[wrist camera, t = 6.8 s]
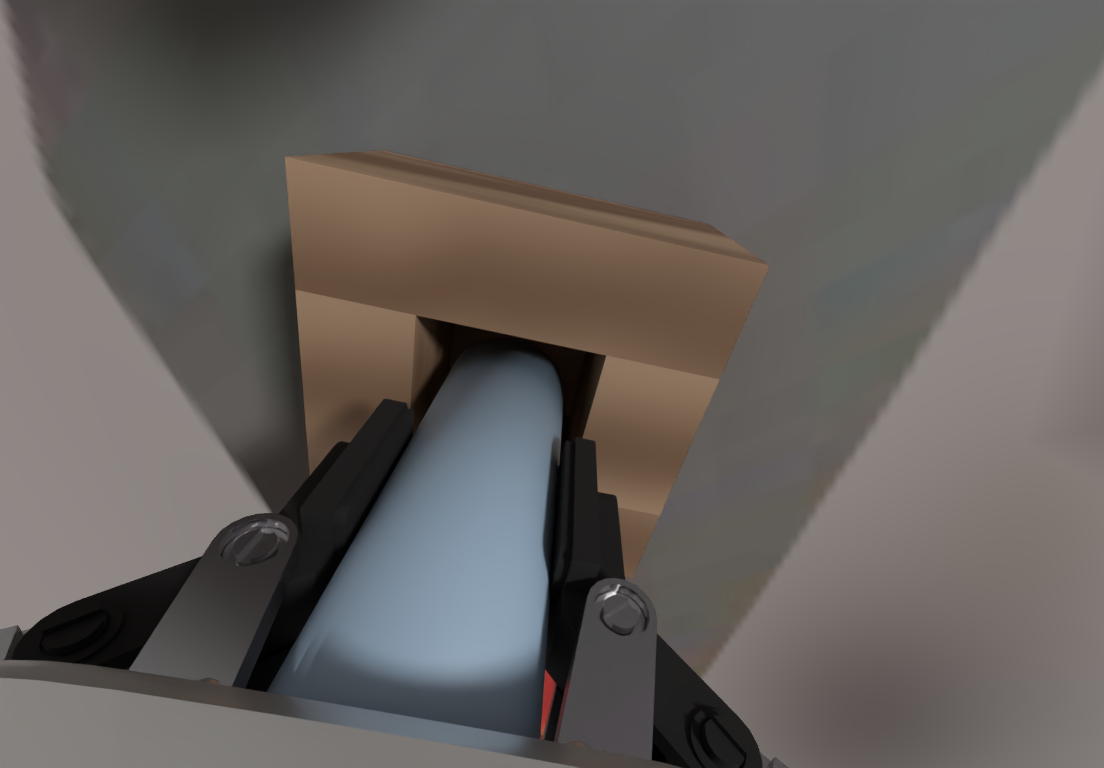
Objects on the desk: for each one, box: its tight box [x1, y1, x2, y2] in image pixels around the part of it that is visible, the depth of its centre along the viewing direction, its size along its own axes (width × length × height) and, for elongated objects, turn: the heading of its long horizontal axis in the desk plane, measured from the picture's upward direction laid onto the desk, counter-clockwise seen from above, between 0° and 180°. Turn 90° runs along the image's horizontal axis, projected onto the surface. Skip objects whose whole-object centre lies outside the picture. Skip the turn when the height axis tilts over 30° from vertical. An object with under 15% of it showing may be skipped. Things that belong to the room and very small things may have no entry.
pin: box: [267, 338, 564, 739], centre depth 10 cm, size 4×4×14 cm
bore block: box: [285, 150, 770, 578], centre depth 16 cm, size 12×12×6 cm
